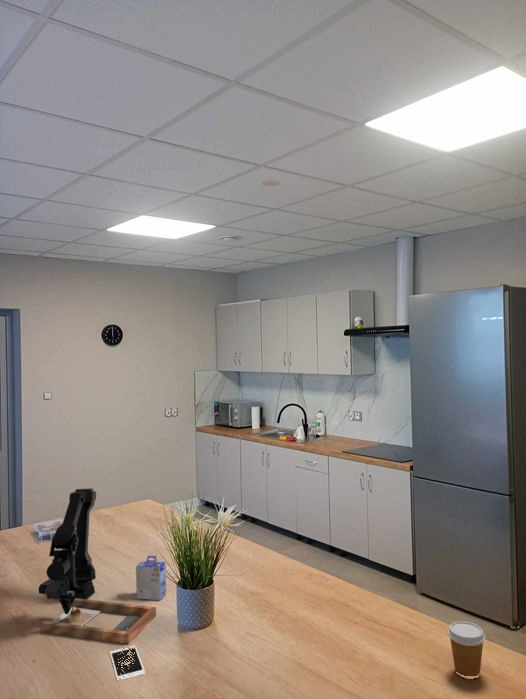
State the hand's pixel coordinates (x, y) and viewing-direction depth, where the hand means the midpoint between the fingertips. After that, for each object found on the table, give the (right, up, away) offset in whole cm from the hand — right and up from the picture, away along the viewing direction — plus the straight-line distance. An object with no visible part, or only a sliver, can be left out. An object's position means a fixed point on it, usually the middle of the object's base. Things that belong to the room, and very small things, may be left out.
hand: (67, 613), depth 185 cm
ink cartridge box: (+26, -1, +16) cm, 30 cm away
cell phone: (+27, -2, -27) cm, 38 cm away
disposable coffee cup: (+123, +1, -37) cm, 128 cm away
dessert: (+3, -3, 0) cm, 4 cm away
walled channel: (+12, -2, -3) cm, 13 cm away
